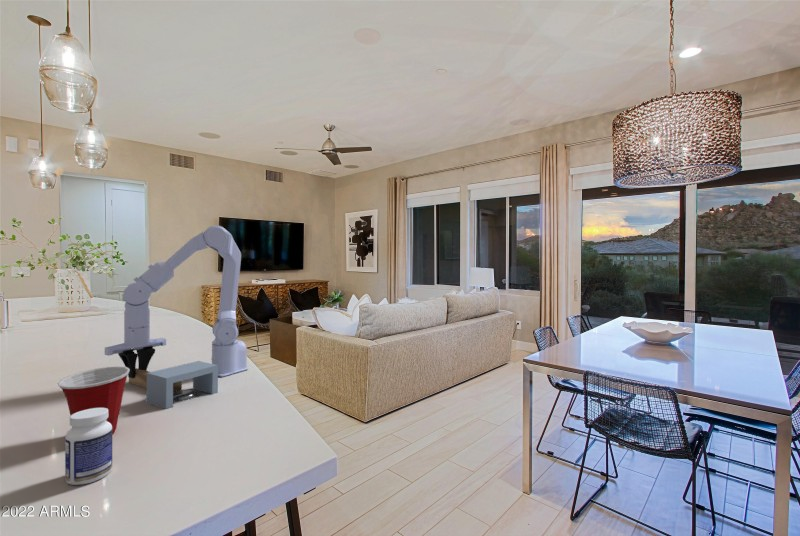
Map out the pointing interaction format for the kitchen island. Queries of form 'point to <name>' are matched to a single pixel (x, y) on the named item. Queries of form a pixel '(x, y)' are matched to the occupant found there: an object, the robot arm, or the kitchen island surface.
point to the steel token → (183, 395)
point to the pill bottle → (88, 447)
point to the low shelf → (164, 379)
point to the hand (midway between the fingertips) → (137, 376)
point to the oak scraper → (142, 380)
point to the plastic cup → (96, 391)
